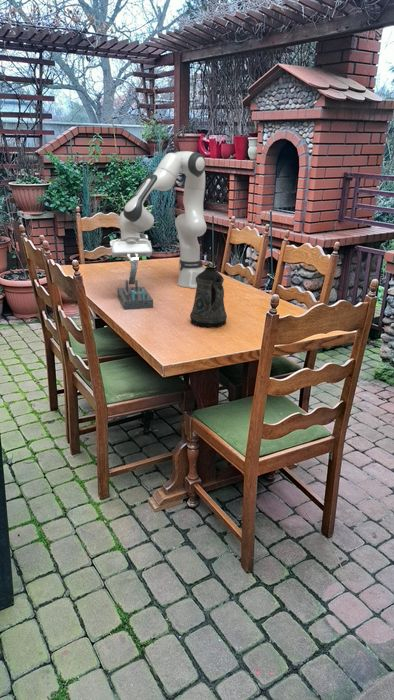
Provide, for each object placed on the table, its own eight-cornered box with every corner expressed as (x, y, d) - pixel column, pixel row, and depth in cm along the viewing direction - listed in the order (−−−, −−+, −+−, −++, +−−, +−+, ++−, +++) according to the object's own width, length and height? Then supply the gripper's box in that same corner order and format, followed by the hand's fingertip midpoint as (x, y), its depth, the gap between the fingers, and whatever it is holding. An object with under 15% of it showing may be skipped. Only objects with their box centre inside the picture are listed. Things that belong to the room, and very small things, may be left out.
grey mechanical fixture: (143, 293, 276) (143, 278, 273) (153, 308, 252) (153, 291, 249) (117, 295, 273) (117, 279, 269) (124, 309, 249) (124, 292, 246)
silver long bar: (134, 284, 270) (133, 281, 270) (138, 259, 250) (138, 256, 250) (128, 284, 269) (128, 282, 270) (132, 259, 249) (131, 256, 250)
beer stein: (205, 314, 245) (206, 262, 236) (239, 323, 233) (241, 268, 224) (182, 322, 233) (183, 267, 224) (216, 332, 221) (218, 275, 212)
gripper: (109, 235, 254) (112, 259, 249) (150, 235, 260) (154, 258, 254) (109, 243, 260) (111, 266, 255) (149, 242, 265) (152, 265, 260)
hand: (133, 262), depth 255 cm, fingers closed, pressing on silver long bar
